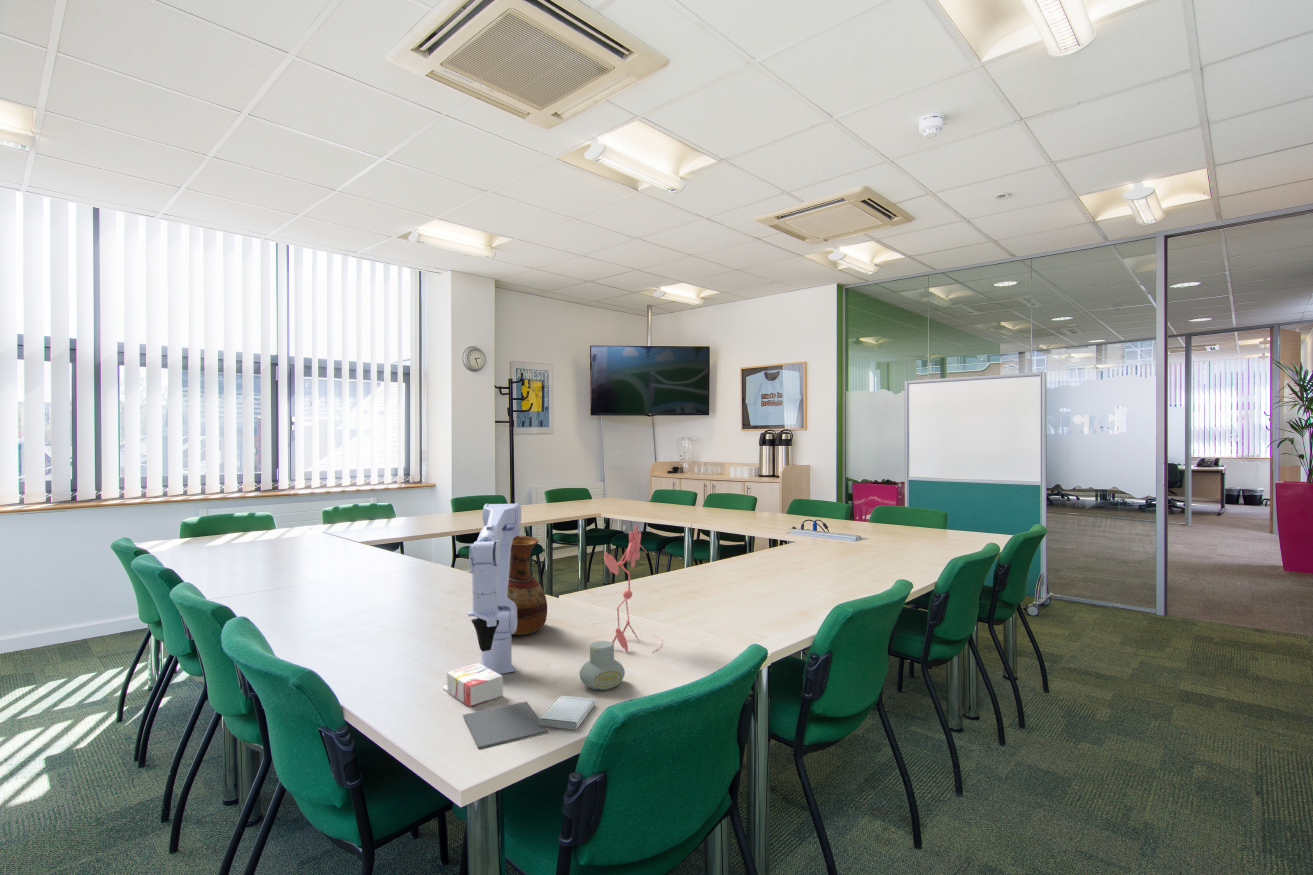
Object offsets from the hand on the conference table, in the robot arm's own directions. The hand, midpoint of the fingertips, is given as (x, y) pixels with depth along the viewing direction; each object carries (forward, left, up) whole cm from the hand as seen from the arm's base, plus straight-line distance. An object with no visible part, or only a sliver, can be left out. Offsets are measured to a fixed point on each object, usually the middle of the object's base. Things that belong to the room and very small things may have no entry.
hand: (485, 649), depth 144 cm
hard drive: (+21, +13, -10) cm, 27 cm away
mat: (+18, 0, -10) cm, 21 cm away
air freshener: (+9, +26, -11) cm, 30 cm away
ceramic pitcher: (-45, +19, -11) cm, 50 cm away
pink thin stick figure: (-13, +46, -11) cm, 49 cm away
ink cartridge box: (+5, -1, -8) cm, 9 cm away
